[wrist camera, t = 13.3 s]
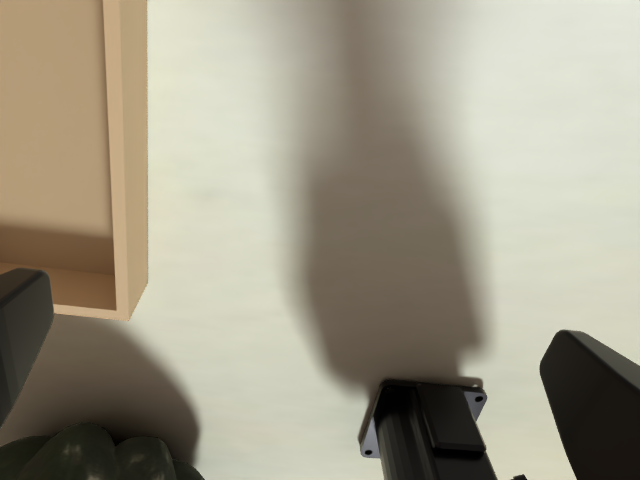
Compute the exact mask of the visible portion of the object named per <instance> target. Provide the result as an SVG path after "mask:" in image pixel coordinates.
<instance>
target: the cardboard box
mask: <svg viewBox="0 0 640 480" xmlns="http://www.w3.org/2000/svg"><path fill="white" fill-rule="evenodd" d="M20 267H23V268H32V269H40V270H44V271H46V272H47V273H48V275H49V277H50V282H51V290H52V298H53V306H54V313H56V314H66V315H76V316H85V317H95V318H105V319H114V320H124V321H129V320H130V318H131V316H132V314H133V312H134V310H135V308H136V306H137V304H138V302H139V300H140V298H141V296H142V294H143V292H144V290H145V288H146V286H147V284H148V175H147V0H0V274H3V273H5V272H8V271H10V270H13V269H15V268H20Z"/></svg>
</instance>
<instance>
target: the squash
mask: <svg viewBox="0 0 640 480" xmlns="http://www.w3.org/2000/svg"><path fill="white" fill-rule="evenodd" d="M0 480H205V479H204V478H203V477H202V476H201V474H200V473H199V472H198V471H197V470H196V469H195V468H194V467H192V466H191V465H189V464H188V463H185V462H182V461H179V460H172V458H171V455H170V452H169V450H168V447H167V446H166V444H165V443H164V442H163V441H161V440H160V439H159V438H155V437H147V436H138V437H133V438H130V439H127V440H124V441H123V442H121V443H120V444H118V445H117V446H116V447H115V445H114V442H113V440H112V438H111V436H110V435H109V434H108V432H107V431H106V430H105V429H104V428H102V427H101V426H99V425H95V424H91V423H82V422H81V423H78V424H74V425H71V426H69V427H67V428H66V429H64V430H62V431H61V432H59V433H58V434H57V435H55V436H54V437H50V436H32V437H27V438H22V439H19V440H16V441H14V442H11V443H9V444H6V445H4V446H2V447H0Z"/></svg>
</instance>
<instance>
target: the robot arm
mask: <svg viewBox="0 0 640 480" xmlns="http://www.w3.org/2000/svg"><path fill="white" fill-rule="evenodd" d="M53 317H54V306H53V298H52V290H51V282H50V277H49V275H48V273H47V272H46V271H44V270H40V269H32V268H23V267H20V268H15V269H13V270H10V271H8V272H5V273H3V274H0V429H1V427H2V426H3V424H4V422H5V420H6V419H7V417H8V415H9V413H10V412H11V410H12V408H13V406H14V404H15V402H16V400H17V398H18V396H19V394H20V392H21V390H22V388H23V386H24V383H25V381H26V379H27V377H28V375H29V373H30V370H31V368H32V366H33V364H34V362H35V360H36V357H37V355H38V353H39V351H40V349H41V347H42V344H43V342H44V340H45V338H46V336H47V334H48V331H49V329H50V327H51V325H52V322H53ZM540 376H541V379H542V382H543V385H544V388H545V391H546V394H547V397H548V401H549V404H550V407H551V410H552V413H553V416H554V419H555V422H556V425H557V429H558V432H559V435H560V438H561V441H562V444H563V446H564V449H565V452H566V455H567V457H568V460H569V462H570V464H571V467H572V469H573V472H574V474H575V476H576V478H577V480H640V366H639V365H637V364H636V363H634V362H632V361H631V360H629V359H627V358H626V357H624V356H622V355H621V354H619V353H617V352H616V351H614V350H613V349H611V348H609V347H608V346H606V345H604V344H603V343H601V342H599V341H598V340H596V339H594V338H593V337H591V336H589V335H588V334H586V333H584V332H581V331H572V330H560V331H559V332H557V333H556V334H555V336H554V338H553V340H552V341H551V343H550V345H549V347H548V349H547V351H546V353H545V354H544V356H543V358H542V360H541V363H540ZM387 388H390V389H387ZM477 396H478V397H477ZM486 400H487V395H486V393H485V391H484V390H483V389H482V388H475V387H464V386H454V385H443V384H433V383H422V382H412V381H401V380H385V381H383V382H382V383H381V384H380V387H379V390H378V393H377V396H376V399H375V402H374V405H373V408H372V412H371V415H370V418H369V421H368V424H367V427H366V430H365V433H364V436H363V439H362V442H361V445H360V452H361V455H362V456H363V457H367V458H381V464H382V469H383V475H384V480H498V479H497V477H496V474H495V472H494V470H493V467H492V465H491V462H490V460H489V457H488V455H487V453H486V445H485V443H484V441H483V438H482V436H481V433H480V431H479V429H478V426H477V424H476V421H477V419H478V417H479V415H480V413H481V411H482V408H483V406H484V404H485V402H486ZM513 478H514V479H511V480H527V479H526V477H525V475H524V474H522V475H519V476H515V477H513Z"/></svg>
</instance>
